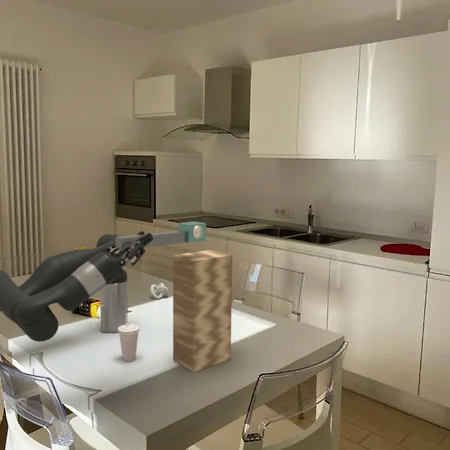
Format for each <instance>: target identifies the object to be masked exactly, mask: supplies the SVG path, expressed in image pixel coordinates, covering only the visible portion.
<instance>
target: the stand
mask: <svg viewBox="0 0 450 450" xmlns="http://www.w3.org/2000/svg"><path fill="white" fill-rule="evenodd" d="M172 292H173V293H172V296H173V297H172V312H173V313H172V319H173V320H172V323H173V324H172V328H173V329H172V361H173V360H174V361H173V362H175V363H176V362H177V363H176V364H178V363H179V364H178V365H180V366H182V367H183V368H185V369H187V370H189V371H191V372H192V373H195V372H198V371H201V370H204V369H206V368H209V367H213V366H215V365H218V364H220V363H221V364H222V363H225V362H227V361H229V360H231V358H232V357H231V355H232V354H231V353H232V351H231V350H232V349H231V348H232V309H233V308H232V306H233V305H232V302H233V301H232V298H233V296H232V295H233V254H230V253H226V252H221V251H217V250H215V249H214V250H213V249H206V250H201V251H193V252H186V253H179V254H178V253H177V254H173V255H172Z"/></svg>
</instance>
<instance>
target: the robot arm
mask: <svg viewBox="0 0 450 450" xmlns="http://www.w3.org/2000/svg"><path fill="white" fill-rule="evenodd" d="M151 233H152V232H151ZM151 233H150V232H146V233H145V232H144V231H143V230H140V231H139V232H138V233H136V234H135V235H139V234H146V235H144V236H143V237H142V238H141V239H139V240H138V241H136V242H135V243H133V244H132V245H128V246H126V247H125V248H124V249H122V250H119V249H117V248H116V237H119V236H120V235H117V234H116V235H115V234H110V233H107V234H102V236H100V237H99V239H98V240H97V243H96V246H95V247H91V248H92V249H90V248H84V249H83V250H81V249H77V250H74V251H73V250H69V251H65V252H62V253H61V252H60V253H58V254H56V255H53V256H49V257H47V258H46V259H44V260H42V262H41V263H40V264H39V265H38V266H37V267H36V268H35V270H34V271H33V273H31V275H30V276H29V277H28V278H27V280H25V281H24V282H23V283H22V284H20V285H17V284H16V283H15V281H14V280H12V279H11V277H10V276H9V274H8V273H7V272H6V271H5V270H1V269H0V313H1V312H2V314H3V315H4V316H5V317H6V319H9V320H10V321H11V322H13V323H14V324H16V325H17V326H18V327H19V328H20V329H21V331H22V332H23V333H24V334H25V335H26V336H27V337H28V338H29V339H30V340H31V341H33V342H38V343H41V342H42V343H43V342H46V341H49V340H51V339H52V338H53V337H54V336H56V334H57V333H58V330H59V320H58V319H57V316H56V315H55V314H54V312H53V311H52V309H51V308H50V307H49V306H50V305H52V304H58V305H59V306H60V307H61V308H62V309H63V310H65V311H67V312H72V311H74V310H75V309H76V308H78V307H79V306H81V305H82V304H83V303H84V302H85V301H87V300H88V299H89V298H91V297H92V296H94V295H97V293H99V292H100V294H99V295H100V296H99V298H100V300H99V308H100V309H99V310H100V332H101V333H112V334H113V333H114V334H115V333H118V328H119V327H120V326H122V325H126V313H127V314H129V313H128V311H129V310H128V308H129V307H128V303H129V302H128V272H127V271H125V269H124V268H123V267H124V266H126V265H127V264H131V266H135V265H136V264H137V263H138V262H139V261H140V259H141V258H142V257H143V255H144V254H145V253H146V250H145V248H146V247H145V246H146V245H147V244H148V243H150V242H151V241H152V240H153V237H152V235H151ZM135 246H136V247H135ZM134 247H135V248H134ZM144 247H145V248H144ZM133 248H134V249H133ZM128 249H129V250H128Z"/></svg>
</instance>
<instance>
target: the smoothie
mask: <svg viewBox="0 0 450 450" xmlns="http://www.w3.org/2000/svg"><path fill="white" fill-rule="evenodd" d="M128 314H129V313H128ZM128 314H127V313H126V325H122V326H120V327H119V328H118V332H117V333H118V334H119V335H118V336H119V341H120V348H121V356H122V357H121V358H122V360H123V361H124V362H132V361H135V360H136V357H137V356H136V355H137V348H138V340H139V332H140V331H141V330H140V326H139V325H137V324H132V323H131V324H130V323H129V320H128V317H129V316H128Z"/></svg>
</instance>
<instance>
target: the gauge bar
mask: <svg viewBox="0 0 450 450" xmlns="http://www.w3.org/2000/svg"><path fill="white" fill-rule="evenodd" d="M177 228H178V229H177V230H171V231H162V232H151V235H152V237H153V240H152V241H151V242H150V243H148V244H147V245H146V246H145V247H144V249H145V248H151V247H161V246H168V245H169V246H170V245H176V244H177V245H178V244H184V243H187V244H190V243H191V244H192V243H201V242H206V240H207V223H205V222H201V221H194V220H193V221H186V222H178V226H177ZM146 234H147V233H145V234H139V235H136V234H131V235H118V236H119V237H116V248H117V249H119V250H122V249H124V248H125V247H126V246H128V245H132V244H133V243H135V242H136V241H138V240H139V239H141V238H142V237H143V236H144V235H146ZM135 247H136V246H135ZM135 247H134V248H135ZM134 248H133V249H134ZM128 250H129V249H128Z"/></svg>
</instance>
